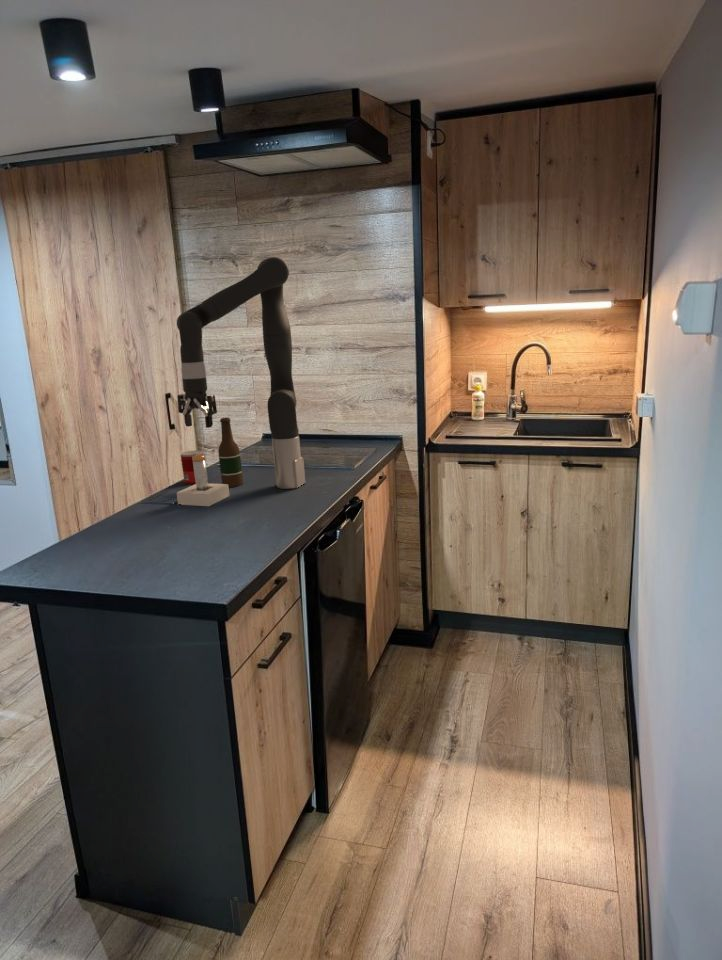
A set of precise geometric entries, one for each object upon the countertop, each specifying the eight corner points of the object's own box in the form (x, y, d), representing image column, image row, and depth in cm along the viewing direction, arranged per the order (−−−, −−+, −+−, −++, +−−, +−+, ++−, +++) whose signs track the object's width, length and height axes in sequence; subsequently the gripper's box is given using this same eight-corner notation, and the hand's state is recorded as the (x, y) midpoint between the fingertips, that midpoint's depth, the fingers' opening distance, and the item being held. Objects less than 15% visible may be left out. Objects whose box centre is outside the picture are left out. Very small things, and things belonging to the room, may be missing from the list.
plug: (212, 498, 224) (207, 454, 221) (205, 502, 221) (199, 457, 217) (202, 498, 226) (196, 454, 222) (195, 501, 222) (189, 457, 219)
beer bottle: (246, 481, 244) (238, 415, 238) (240, 487, 236) (232, 419, 230) (225, 482, 245) (217, 416, 239) (219, 488, 237) (210, 420, 231)
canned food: (203, 483, 245) (199, 454, 242) (181, 485, 245) (177, 455, 243) (208, 478, 252) (204, 449, 250) (187, 479, 253) (183, 451, 250)
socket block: (229, 495, 226) (228, 484, 225) (208, 506, 216) (207, 494, 215) (199, 494, 231) (198, 482, 230) (178, 504, 220) (176, 492, 219)
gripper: (219, 375, 215) (223, 426, 219) (185, 375, 222) (190, 423, 226) (203, 378, 208) (208, 430, 212) (169, 377, 215) (174, 427, 219)
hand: (198, 426), depth 219 cm, fingers open, 8 cm apart
